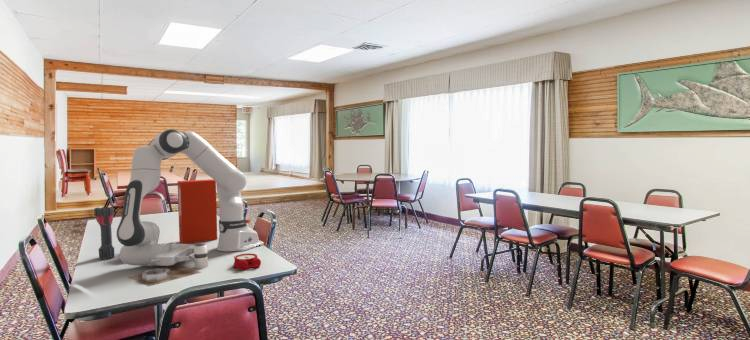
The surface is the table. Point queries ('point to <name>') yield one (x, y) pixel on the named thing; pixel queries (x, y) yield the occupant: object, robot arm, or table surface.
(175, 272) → the walnut mount plate
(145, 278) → the ring
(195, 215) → the file binder
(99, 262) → the table surface
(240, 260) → the alarm clock
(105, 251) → the flashlight
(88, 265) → the table surface
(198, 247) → the white lens
